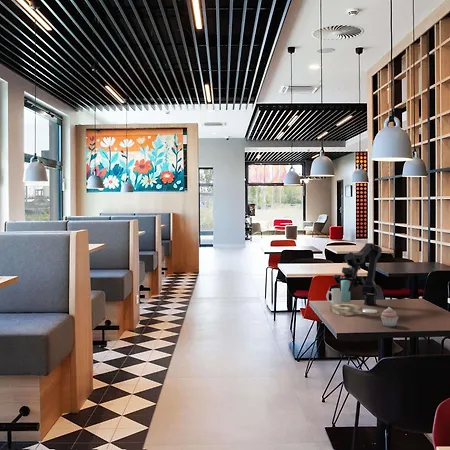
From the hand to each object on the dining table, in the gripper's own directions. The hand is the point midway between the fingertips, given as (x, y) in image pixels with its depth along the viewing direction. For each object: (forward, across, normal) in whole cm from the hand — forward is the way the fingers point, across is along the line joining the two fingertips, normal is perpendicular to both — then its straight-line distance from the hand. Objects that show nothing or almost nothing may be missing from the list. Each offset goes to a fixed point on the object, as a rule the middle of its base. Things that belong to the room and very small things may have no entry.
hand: (344, 290), depth 294 cm
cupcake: (+21, +35, -2) cm, 41 cm away
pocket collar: (+9, 0, +10) cm, 13 cm away
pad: (+1, +10, +18) cm, 20 cm away
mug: (+1, -14, +18) cm, 23 cm away
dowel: (+4, 0, +6) cm, 7 cm away
